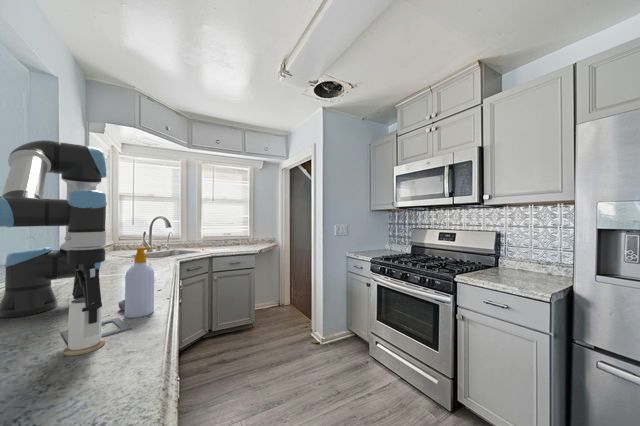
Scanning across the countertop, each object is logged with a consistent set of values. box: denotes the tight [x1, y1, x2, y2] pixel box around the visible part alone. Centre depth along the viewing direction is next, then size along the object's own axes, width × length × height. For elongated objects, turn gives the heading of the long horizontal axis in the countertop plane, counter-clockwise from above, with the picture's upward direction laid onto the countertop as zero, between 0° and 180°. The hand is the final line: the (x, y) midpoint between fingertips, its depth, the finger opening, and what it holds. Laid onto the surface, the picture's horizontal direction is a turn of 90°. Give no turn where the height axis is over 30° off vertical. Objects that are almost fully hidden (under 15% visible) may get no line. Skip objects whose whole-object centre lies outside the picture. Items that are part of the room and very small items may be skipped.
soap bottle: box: [124, 246, 157, 319], centre depth 94 cm, size 9×9×24 cm
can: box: [67, 298, 103, 351], centre depth 68 cm, size 6×6×12 cm
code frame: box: [60, 317, 133, 345], centre depth 79 cm, size 14×14×1 cm
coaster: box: [63, 338, 106, 357], centre depth 68 cm, size 8×8×1 cm
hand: (85, 329), depth 68 cm, fingers open, 13 cm apart
